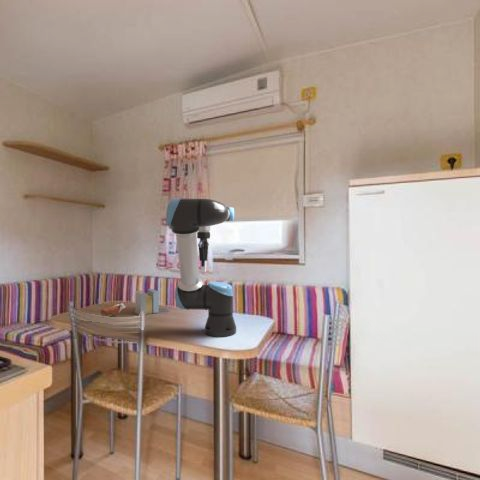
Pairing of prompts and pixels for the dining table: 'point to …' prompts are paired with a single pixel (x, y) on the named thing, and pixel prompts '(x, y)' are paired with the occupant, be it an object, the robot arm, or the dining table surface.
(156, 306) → the free jaw
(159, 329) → the dining table surface
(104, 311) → the bull figurine
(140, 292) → the vise
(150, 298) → the block
